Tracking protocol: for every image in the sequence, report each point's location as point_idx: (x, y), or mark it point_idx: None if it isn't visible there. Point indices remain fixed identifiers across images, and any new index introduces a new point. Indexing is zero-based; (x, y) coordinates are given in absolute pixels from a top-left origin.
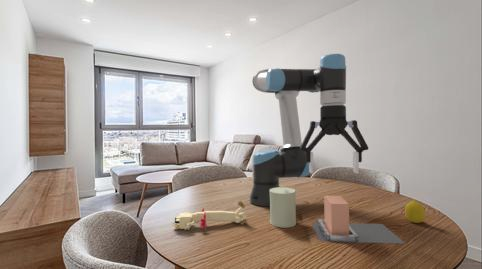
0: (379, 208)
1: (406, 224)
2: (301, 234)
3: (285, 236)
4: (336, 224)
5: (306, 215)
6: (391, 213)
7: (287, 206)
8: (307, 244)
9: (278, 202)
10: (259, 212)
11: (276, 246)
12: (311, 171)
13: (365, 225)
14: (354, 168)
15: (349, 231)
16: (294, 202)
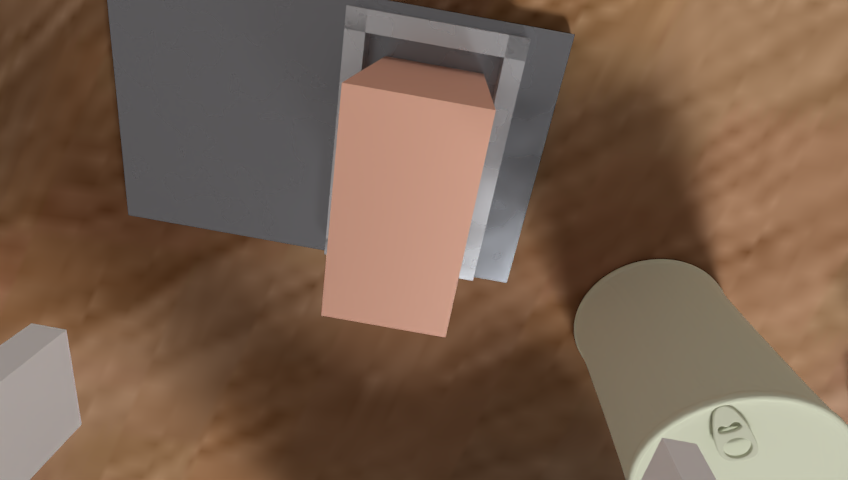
0: None
1: (3, 217)
2: (616, 166)
3: (720, 151)
4: (455, 77)
5: (477, 390)
6: None
7: (703, 330)
8: (644, 35)
9: (781, 361)
10: None
11: (839, 28)
12: (699, 465)
13: (225, 207)
14: (28, 426)
15: None
16: (639, 367)
